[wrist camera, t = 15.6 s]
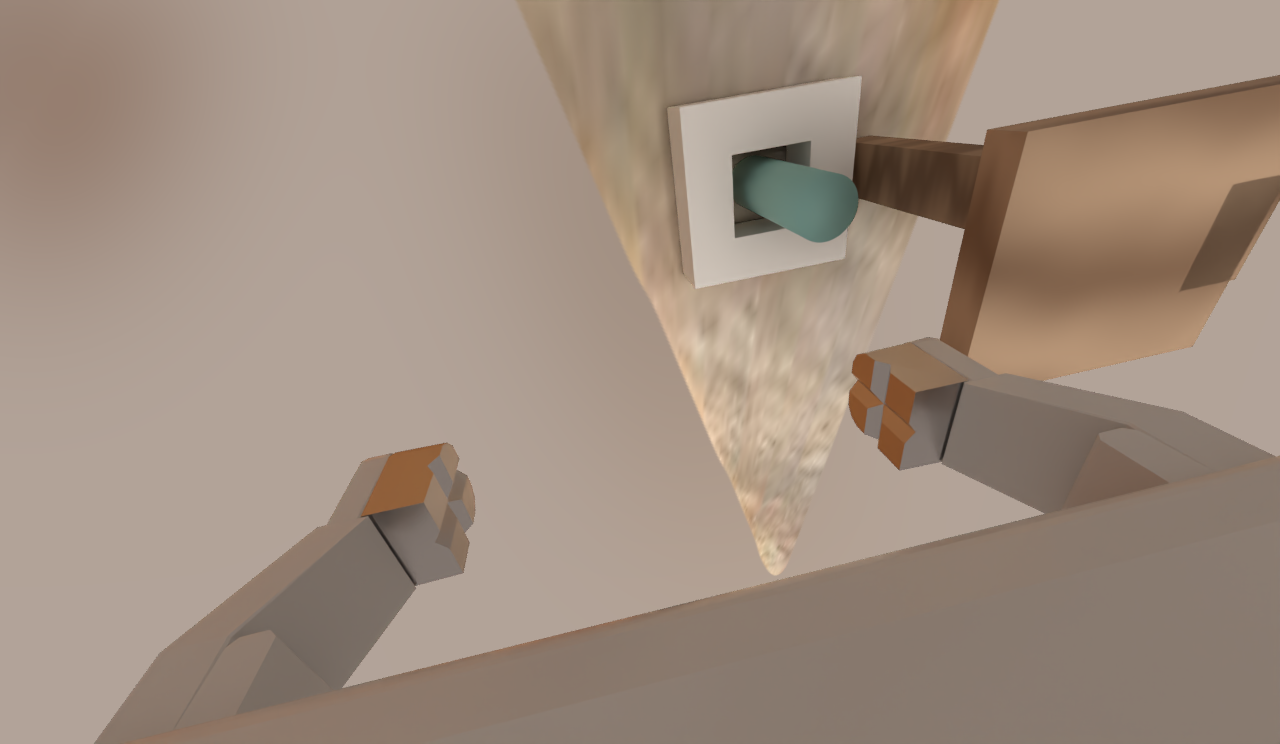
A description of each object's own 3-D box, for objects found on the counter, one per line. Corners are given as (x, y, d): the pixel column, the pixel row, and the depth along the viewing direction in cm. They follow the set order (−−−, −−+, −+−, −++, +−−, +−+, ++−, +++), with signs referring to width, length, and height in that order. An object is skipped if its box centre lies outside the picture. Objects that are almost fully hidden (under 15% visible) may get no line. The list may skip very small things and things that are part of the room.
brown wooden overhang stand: (738, 117, 35) (1028, 131, 14) (875, 93, 36) (1353, 70, 14) (741, 245, 40) (956, 400, 19) (861, 221, 41) (1197, 345, 20)
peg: (728, 160, 36) (796, 180, 26) (775, 151, 37) (861, 167, 26) (730, 211, 38) (794, 248, 28) (775, 202, 39) (854, 235, 28)
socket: (666, 107, 34) (679, 107, 30) (831, 78, 35) (862, 75, 31) (683, 273, 41) (695, 288, 37) (821, 246, 41) (845, 258, 38)
